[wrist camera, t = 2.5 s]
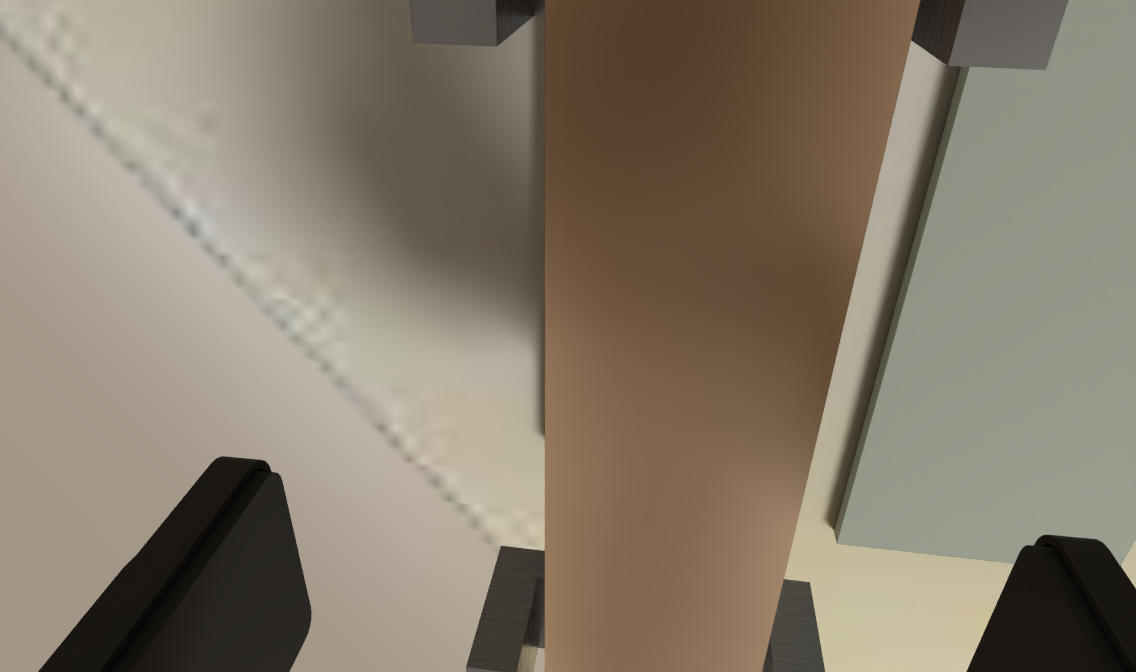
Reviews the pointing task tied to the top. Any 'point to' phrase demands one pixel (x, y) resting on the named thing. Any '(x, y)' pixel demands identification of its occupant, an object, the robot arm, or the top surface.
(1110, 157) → the mat
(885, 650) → the top surface
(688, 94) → the rail
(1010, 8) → the stand
